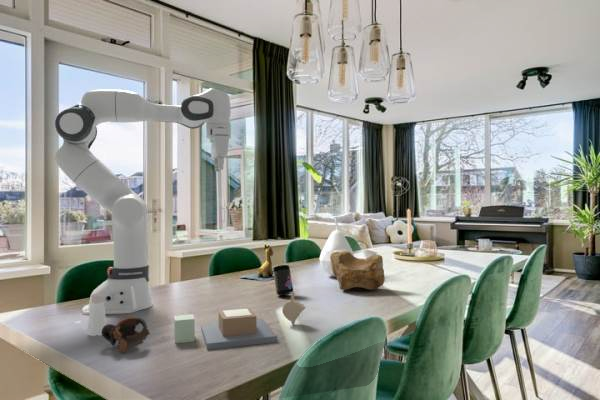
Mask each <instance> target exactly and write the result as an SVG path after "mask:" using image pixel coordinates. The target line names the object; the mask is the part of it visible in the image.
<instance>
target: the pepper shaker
mask: <svg viewBox="0 0 600 400" xmlns="http://www.w3.org/2000/svg"><path fill="white" fill-rule="evenodd" d="M90 296H91V295H90ZM91 297H92V304H90V311H89V315H88V323H87V332H86V333H87V334H86V335H87V336H89V335H90V337H95V336H96V335H98V336H103V335H102V333H101V332H102V329H103V327H104V326H105V325H108V324H107V318H106V314H105V307H104V303H102V294H95V295H92V296H91Z"/></svg>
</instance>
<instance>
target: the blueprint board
mask: <svg viewBox="0 0 600 400" xmlns="http://www.w3.org/2000/svg"><path fill="white" fill-rule="evenodd" d="M200 330H201V333H202V337H203V341H204V343H205V347H206V350H214V349H215V350H216V349H225V348H233V347H242V346H250V345H252V346H253V345H261V344H270V343H277V342H278V335H277V334H276V333H275V332H274V331H273V330H272V328H271V327H270V326H269V325H268V324H267V322H266V321H265V320H264V318H262V317H261V318H257V315H256V313H255V312H254V311H253V310H252V308H250V307H248V308H247V307H246V308H239V309H238V308H236V309H226V310H223V309H222V310H218V321H217V322H210V323H208V322H207V323H201V324H200Z"/></svg>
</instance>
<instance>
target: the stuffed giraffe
mask: <svg viewBox="0 0 600 400" xmlns="http://www.w3.org/2000/svg"><path fill="white" fill-rule="evenodd" d="M262 249H263V250H265V262H263V264H261V266H260V267H259V268H258V270H257V271H256V272H255V274H254V273H250V274H246V275H242V276H239V277H238V278H239V279H242V278H246V279H253V280H256V281H262V282H269V281H271V280H274V273H273V266H272V265H273V262H272V259H271V257H272V256H273V255H274V251H273V248H272V247H271V245H266V244H264V246H263V247H262Z"/></svg>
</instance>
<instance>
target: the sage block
mask: <svg viewBox="0 0 600 400" xmlns="http://www.w3.org/2000/svg"><path fill="white" fill-rule="evenodd" d="M173 317H174V318H173V319H174V321H173V322H174V323H173V324H174V325H173V327H174V334H173V335H174V344H179V343H180V344H181V343H190V342H195V341H196V336H195V334H196V333H195V331H196V330H195V329H196V328H195V325H196V324H195V315H194V314H181V315H174V316H173Z"/></svg>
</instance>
